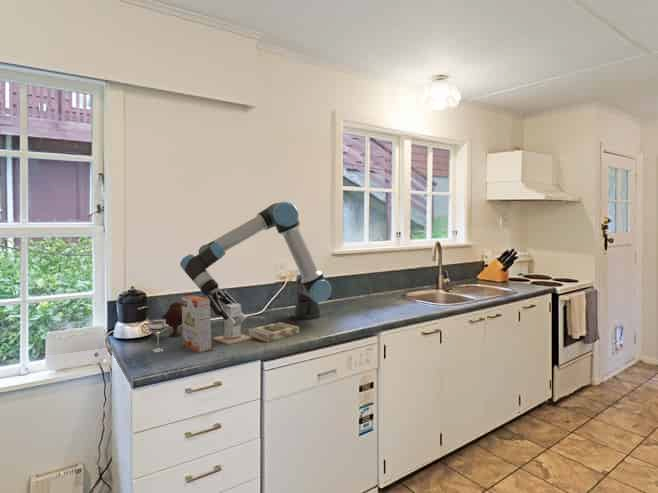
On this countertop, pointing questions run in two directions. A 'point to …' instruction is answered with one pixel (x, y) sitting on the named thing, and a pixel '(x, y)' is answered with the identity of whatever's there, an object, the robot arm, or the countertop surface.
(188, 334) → the cracker box
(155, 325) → the wineglass
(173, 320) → the ice cream bowl
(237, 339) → the terracotta tile
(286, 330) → the well board
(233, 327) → the syrup box
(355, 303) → the countertop surface
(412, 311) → the countertop surface
